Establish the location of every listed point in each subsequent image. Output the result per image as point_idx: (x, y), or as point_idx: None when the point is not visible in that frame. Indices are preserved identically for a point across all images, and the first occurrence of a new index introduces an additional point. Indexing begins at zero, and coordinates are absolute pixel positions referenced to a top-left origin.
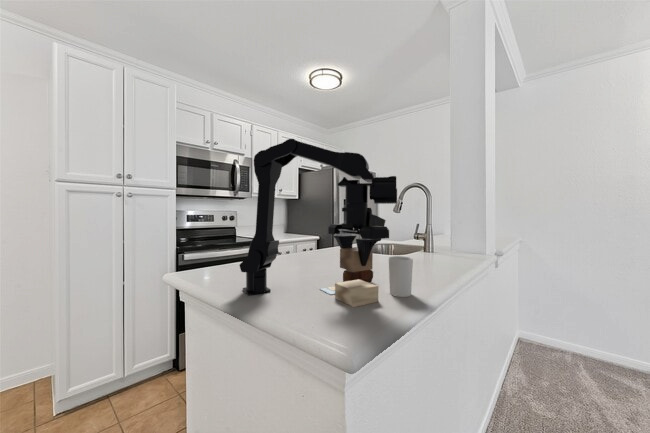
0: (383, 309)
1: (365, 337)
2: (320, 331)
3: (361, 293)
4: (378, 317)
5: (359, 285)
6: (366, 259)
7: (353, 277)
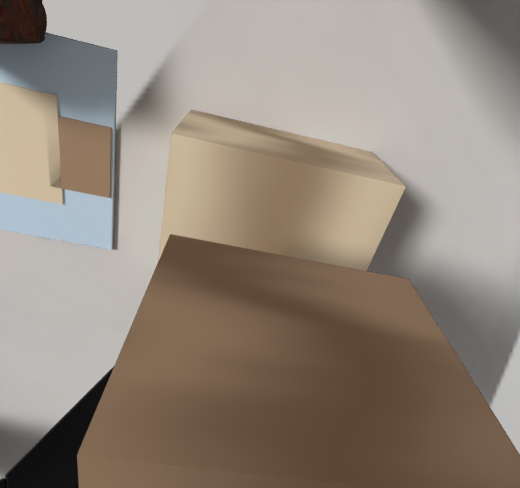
0: (442, 227)
1: None
2: None
3: None
4: (454, 303)
5: None
6: None
7: (8, 24)
